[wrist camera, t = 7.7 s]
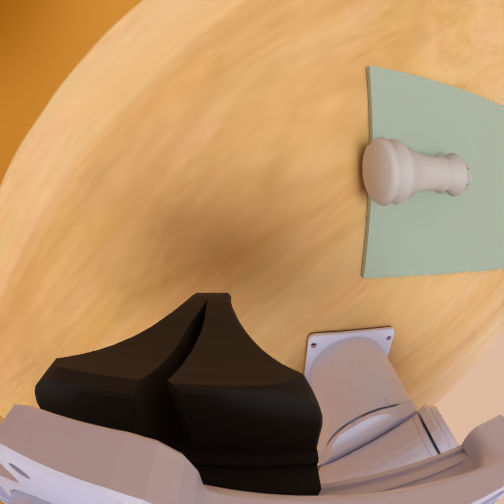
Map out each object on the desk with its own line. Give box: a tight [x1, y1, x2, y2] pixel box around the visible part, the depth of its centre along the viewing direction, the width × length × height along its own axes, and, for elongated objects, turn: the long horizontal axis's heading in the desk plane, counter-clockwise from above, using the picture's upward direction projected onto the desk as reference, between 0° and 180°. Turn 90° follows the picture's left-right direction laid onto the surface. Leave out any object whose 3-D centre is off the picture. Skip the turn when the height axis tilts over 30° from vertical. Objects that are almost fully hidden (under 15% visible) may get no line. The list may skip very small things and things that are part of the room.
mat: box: [361, 66, 504, 278], centre depth 19 cm, size 16×17×1 cm
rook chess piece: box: [362, 137, 472, 207], centre depth 17 cm, size 4×4×8 cm
